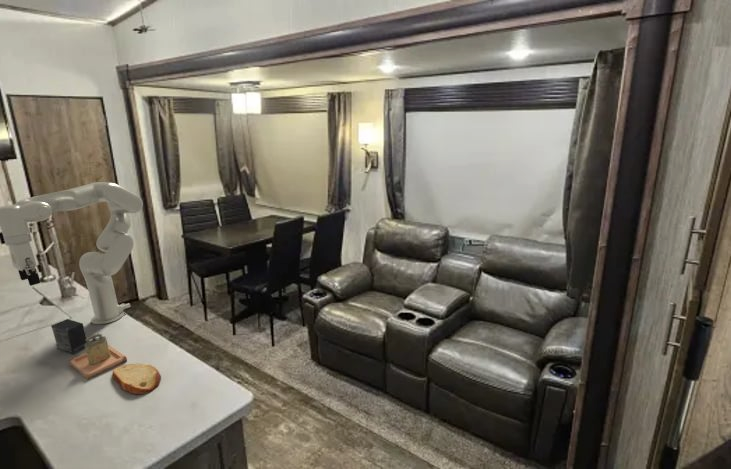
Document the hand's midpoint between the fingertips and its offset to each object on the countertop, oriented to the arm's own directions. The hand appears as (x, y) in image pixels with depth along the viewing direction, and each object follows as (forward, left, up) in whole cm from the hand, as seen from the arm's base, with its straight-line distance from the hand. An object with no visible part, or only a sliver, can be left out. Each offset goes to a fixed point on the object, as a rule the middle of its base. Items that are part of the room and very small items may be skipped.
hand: (30, 281), depth 150 cm
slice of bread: (-8, +52, -29) cm, 60 cm away
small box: (-5, +9, -29) cm, 30 cm away
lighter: (-7, +30, -28) cm, 41 cm away
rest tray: (-6, +30, -28) cm, 41 cm away
